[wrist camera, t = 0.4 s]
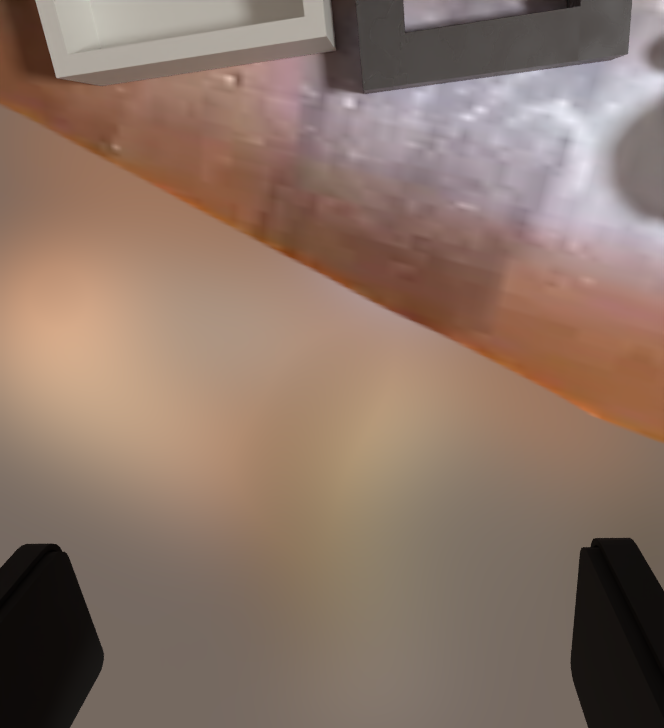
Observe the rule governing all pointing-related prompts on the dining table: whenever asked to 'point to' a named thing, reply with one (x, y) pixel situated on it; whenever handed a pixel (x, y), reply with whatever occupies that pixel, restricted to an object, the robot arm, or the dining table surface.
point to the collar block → (486, 43)
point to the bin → (178, 35)
